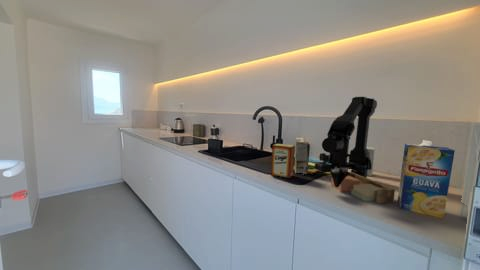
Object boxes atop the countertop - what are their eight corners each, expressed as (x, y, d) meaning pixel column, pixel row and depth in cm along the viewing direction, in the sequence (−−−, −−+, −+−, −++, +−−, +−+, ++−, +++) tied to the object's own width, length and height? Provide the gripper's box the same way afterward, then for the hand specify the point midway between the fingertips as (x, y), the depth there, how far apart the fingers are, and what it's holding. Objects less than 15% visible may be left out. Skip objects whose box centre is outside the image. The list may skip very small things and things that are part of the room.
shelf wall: (351, 182, 92) (352, 172, 92) (393, 202, 72) (394, 189, 71) (339, 182, 91) (339, 172, 90) (378, 203, 71) (379, 190, 70)
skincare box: (371, 174, 107) (375, 147, 105) (372, 176, 102) (375, 149, 100) (354, 171, 112) (357, 145, 110) (353, 173, 106) (356, 147, 105)
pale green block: (369, 192, 80) (370, 183, 80) (384, 200, 74) (385, 190, 73) (351, 193, 78) (352, 184, 78) (364, 201, 72) (365, 191, 71)
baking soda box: (270, 175, 99) (272, 144, 97) (275, 172, 104) (277, 142, 102) (289, 179, 94) (291, 146, 92) (293, 175, 99) (295, 144, 97)
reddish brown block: (348, 185, 89) (349, 175, 88) (358, 190, 83) (359, 180, 82) (331, 186, 87) (332, 176, 86) (340, 191, 81) (341, 181, 80)
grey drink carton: (307, 175, 101) (310, 144, 99) (295, 173, 102) (297, 143, 101) (305, 170, 110) (307, 142, 108) (294, 169, 111) (295, 141, 109)
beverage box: (397, 201, 73) (404, 143, 71) (437, 210, 67) (447, 147, 65) (399, 208, 67) (408, 146, 65) (444, 218, 61) (455, 150, 59)
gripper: (346, 147, 89) (342, 180, 91) (308, 146, 85) (306, 180, 87) (365, 152, 78) (361, 189, 80) (324, 151, 75) (320, 190, 76)
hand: (336, 187), depth 81 cm, fingers closed
